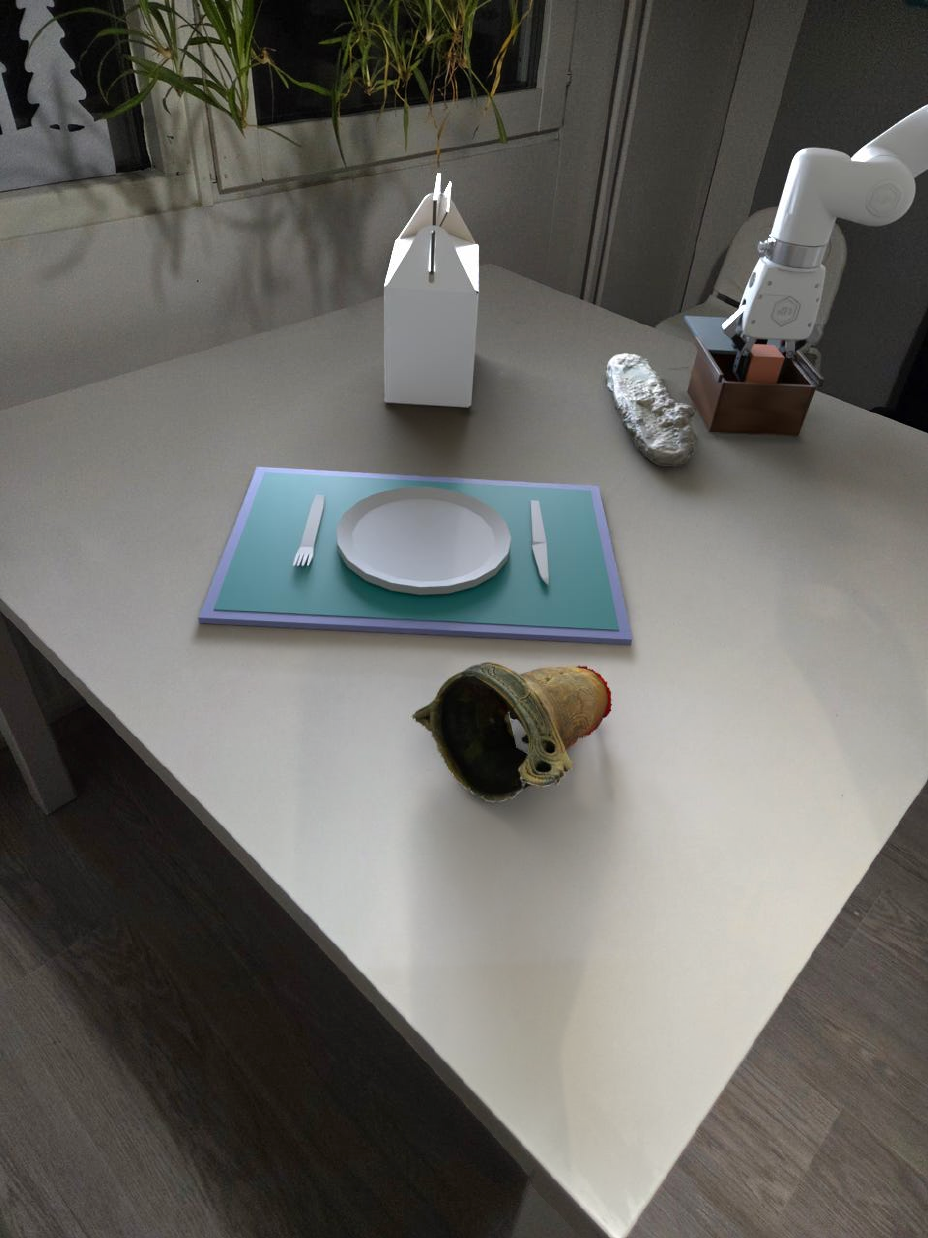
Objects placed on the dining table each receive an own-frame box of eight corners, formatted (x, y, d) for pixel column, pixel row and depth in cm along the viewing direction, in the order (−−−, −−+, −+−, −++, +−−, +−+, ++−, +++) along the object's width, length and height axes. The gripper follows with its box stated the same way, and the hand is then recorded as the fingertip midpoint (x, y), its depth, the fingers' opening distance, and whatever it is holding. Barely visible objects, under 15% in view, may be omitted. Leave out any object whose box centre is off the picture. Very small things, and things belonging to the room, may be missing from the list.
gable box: (470, 409, 125) (484, 210, 107) (384, 403, 125) (383, 203, 107) (471, 350, 142) (483, 170, 124) (395, 345, 142) (396, 164, 124)
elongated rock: (649, 375, 142) (592, 376, 141) (653, 345, 139) (595, 346, 138) (709, 470, 114) (638, 472, 114) (716, 435, 111) (643, 436, 110)
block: (765, 373, 126) (774, 344, 123) (775, 387, 123) (784, 357, 120) (736, 372, 126) (744, 343, 123) (745, 385, 123) (754, 355, 120)
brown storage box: (774, 395, 136) (792, 340, 130) (804, 436, 125) (824, 379, 119) (682, 391, 135) (695, 336, 129) (703, 432, 124) (719, 374, 118)
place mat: (199, 623, 85) (196, 606, 83) (257, 471, 108) (255, 456, 106) (631, 644, 86) (635, 628, 85) (597, 491, 110) (600, 476, 108)
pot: (679, 667, 71) (548, 711, 58) (663, 787, 74) (535, 854, 61) (527, 624, 82) (390, 652, 70) (518, 729, 85) (385, 775, 73)
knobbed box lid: (765, 322, 138) (771, 304, 136) (794, 357, 127) (800, 338, 125) (684, 319, 137) (688, 300, 135) (705, 353, 127) (710, 334, 125)
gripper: (742, 257, 109) (707, 387, 121) (865, 264, 110) (818, 392, 122) (726, 240, 115) (695, 365, 127) (844, 247, 116) (801, 370, 128)
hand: (756, 377), depth 124 cm, fingers closed on block, 4 cm apart
